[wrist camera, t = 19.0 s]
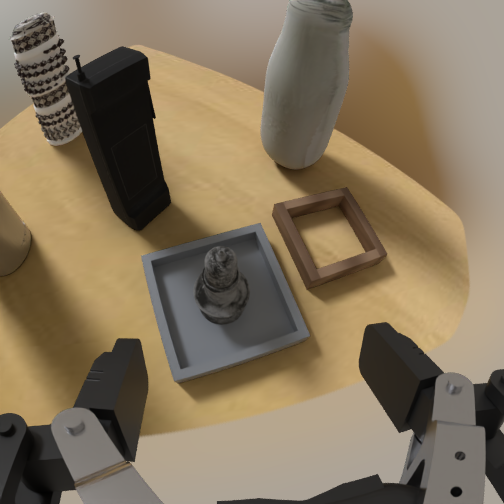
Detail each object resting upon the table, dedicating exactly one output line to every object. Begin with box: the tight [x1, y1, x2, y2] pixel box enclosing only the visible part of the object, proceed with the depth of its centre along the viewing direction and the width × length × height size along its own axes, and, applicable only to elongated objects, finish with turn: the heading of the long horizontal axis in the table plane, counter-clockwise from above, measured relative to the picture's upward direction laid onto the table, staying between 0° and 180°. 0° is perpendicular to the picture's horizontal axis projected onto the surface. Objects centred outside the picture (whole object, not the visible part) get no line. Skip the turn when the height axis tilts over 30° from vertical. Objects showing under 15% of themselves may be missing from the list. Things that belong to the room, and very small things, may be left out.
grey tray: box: [141, 223, 310, 383], centre depth 36 cm, size 15×15×2 cm
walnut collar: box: [272, 187, 387, 289], centre depth 41 cm, size 11×11×2 cm
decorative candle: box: [9, 13, 82, 146], centre depth 39 cm, size 9×9×25 cm
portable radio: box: [65, 47, 171, 231], centre depth 32 cm, size 8×6×25 cm
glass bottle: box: [261, 0, 353, 169], centre depth 37 cm, size 10×10×28 cm
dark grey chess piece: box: [193, 246, 250, 325], centre depth 31 cm, size 6×6×12 cm
